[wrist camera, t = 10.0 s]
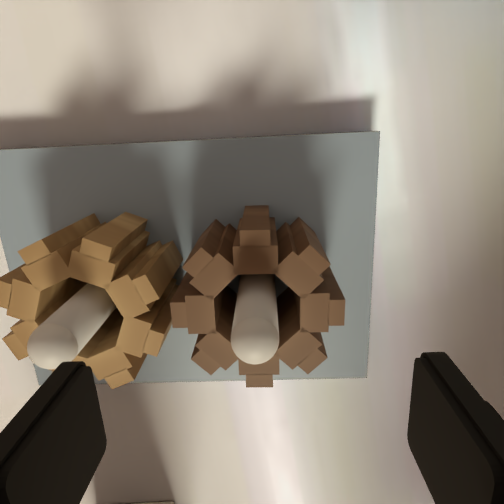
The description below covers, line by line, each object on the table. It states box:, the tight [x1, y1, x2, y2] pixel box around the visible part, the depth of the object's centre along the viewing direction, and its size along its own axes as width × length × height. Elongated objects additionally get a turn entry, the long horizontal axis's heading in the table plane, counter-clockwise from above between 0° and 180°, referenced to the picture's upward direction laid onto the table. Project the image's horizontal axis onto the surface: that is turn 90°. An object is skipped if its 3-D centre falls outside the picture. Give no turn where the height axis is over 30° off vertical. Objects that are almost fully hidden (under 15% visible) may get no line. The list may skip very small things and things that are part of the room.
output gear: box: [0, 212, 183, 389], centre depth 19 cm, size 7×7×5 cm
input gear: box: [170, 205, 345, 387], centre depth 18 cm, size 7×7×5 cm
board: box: [0, 131, 380, 385], centre depth 18 cm, size 20×14×9 cm
